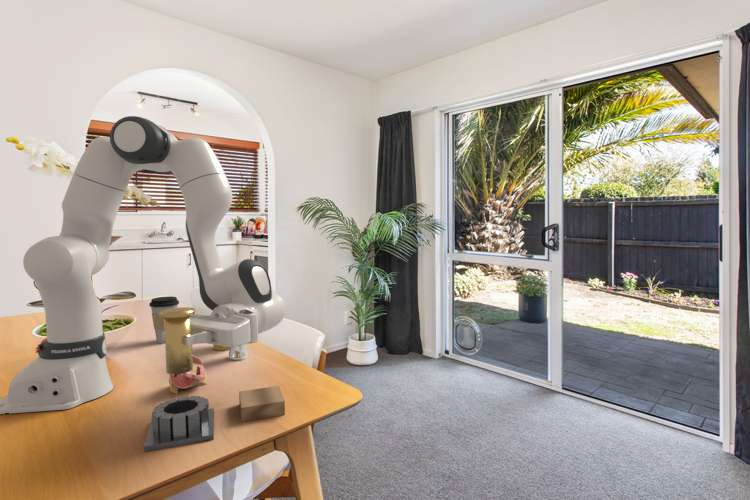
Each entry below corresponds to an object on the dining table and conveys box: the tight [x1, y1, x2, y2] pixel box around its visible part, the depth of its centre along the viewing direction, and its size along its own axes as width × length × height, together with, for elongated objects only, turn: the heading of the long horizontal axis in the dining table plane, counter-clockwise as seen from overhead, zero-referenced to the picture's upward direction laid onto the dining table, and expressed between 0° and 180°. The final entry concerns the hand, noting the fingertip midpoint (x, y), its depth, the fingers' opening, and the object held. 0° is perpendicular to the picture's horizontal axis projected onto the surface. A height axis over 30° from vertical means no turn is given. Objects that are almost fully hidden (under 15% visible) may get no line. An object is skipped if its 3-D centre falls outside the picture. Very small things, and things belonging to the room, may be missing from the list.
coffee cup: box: [149, 296, 180, 344], centre depth 147 cm, size 9×9×15 cm
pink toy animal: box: [168, 354, 209, 395], centre depth 107 cm, size 9×10×10 cm
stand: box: [238, 385, 286, 422], centre depth 94 cm, size 9×9×3 cm
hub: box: [143, 395, 215, 453], centre depth 85 cm, size 12×12×5 cm
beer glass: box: [227, 343, 250, 361], centre depth 129 cm, size 7×7×15 cm
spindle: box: [159, 306, 196, 375], centre depth 84 cm, size 6×6×12 cm
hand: (174, 339), depth 83 cm, fingers closed on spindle, 5 cm apart
